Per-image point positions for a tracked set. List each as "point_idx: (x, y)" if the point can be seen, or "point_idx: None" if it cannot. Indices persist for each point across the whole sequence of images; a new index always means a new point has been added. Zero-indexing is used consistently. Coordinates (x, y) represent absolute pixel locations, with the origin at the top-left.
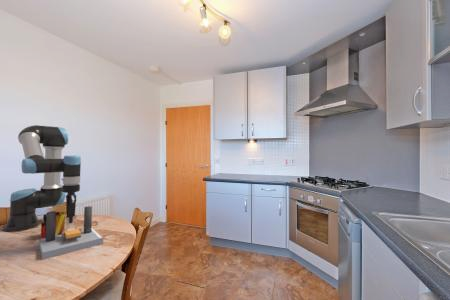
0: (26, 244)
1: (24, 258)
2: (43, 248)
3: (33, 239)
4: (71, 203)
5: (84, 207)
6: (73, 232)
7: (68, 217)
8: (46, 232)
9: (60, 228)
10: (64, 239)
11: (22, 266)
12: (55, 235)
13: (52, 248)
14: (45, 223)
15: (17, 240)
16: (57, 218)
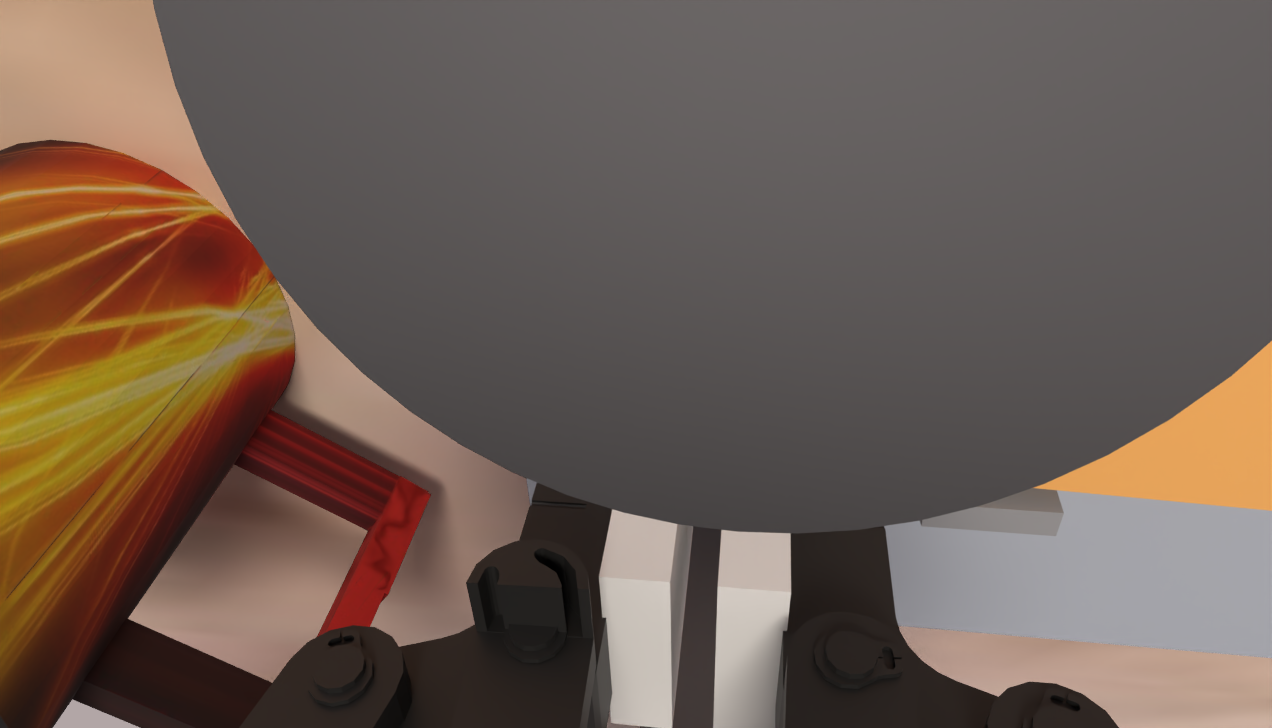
0: (414, 592)
1: (977, 665)
2: (1107, 627)
3: (226, 519)
4: None
5: (682, 519)
6: (1261, 356)
7: (772, 707)
8: None
9: (150, 324)
10: None
11: (1245, 706)
12: (268, 326)
13: (1266, 560)
14: (247, 715)
15: (176, 624)
16: (28, 591)
